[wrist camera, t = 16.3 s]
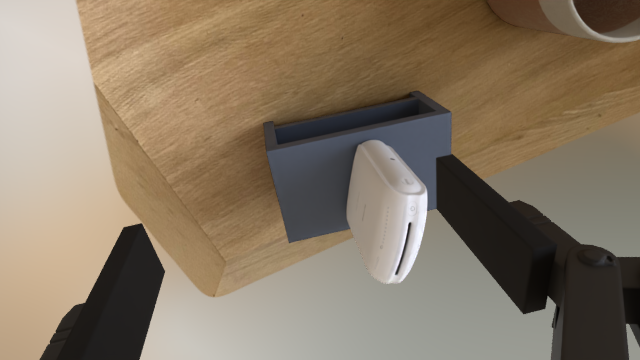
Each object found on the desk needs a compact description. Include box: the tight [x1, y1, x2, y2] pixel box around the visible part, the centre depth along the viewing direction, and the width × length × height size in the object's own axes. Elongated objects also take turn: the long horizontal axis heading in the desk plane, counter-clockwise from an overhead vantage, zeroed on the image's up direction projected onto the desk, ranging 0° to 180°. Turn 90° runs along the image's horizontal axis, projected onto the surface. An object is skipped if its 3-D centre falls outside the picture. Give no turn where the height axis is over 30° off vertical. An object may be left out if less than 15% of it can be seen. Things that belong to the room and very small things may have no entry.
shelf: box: [263, 91, 451, 243], centre depth 46 cm, size 20×12×9 cm, turn 99°
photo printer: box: [346, 140, 427, 284], centre depth 37 cm, size 10×4×12 cm, turn 174°
